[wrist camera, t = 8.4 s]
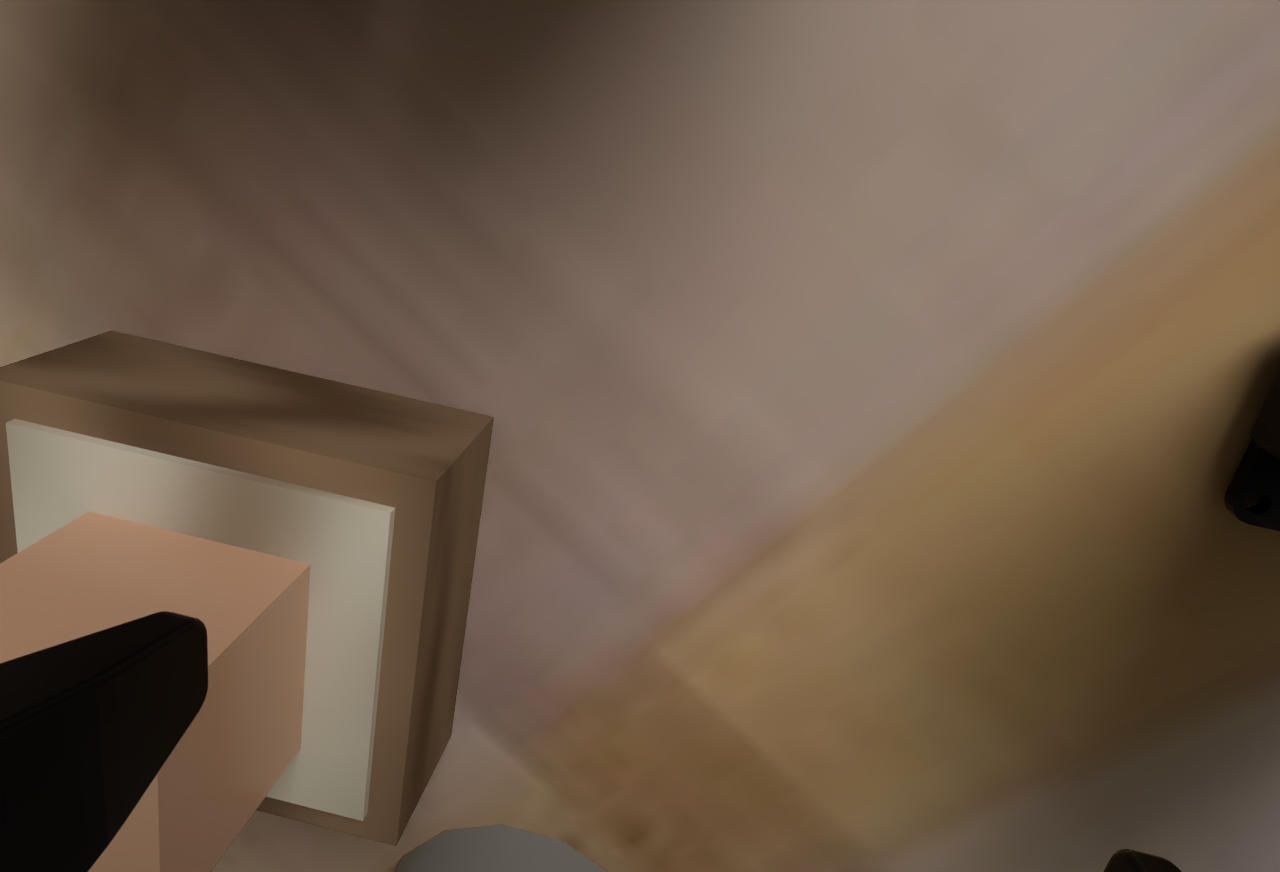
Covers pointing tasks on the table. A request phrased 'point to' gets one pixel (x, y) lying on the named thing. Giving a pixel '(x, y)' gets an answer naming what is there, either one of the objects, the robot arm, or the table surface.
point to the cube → (237, 668)
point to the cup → (495, 853)
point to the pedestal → (280, 532)
